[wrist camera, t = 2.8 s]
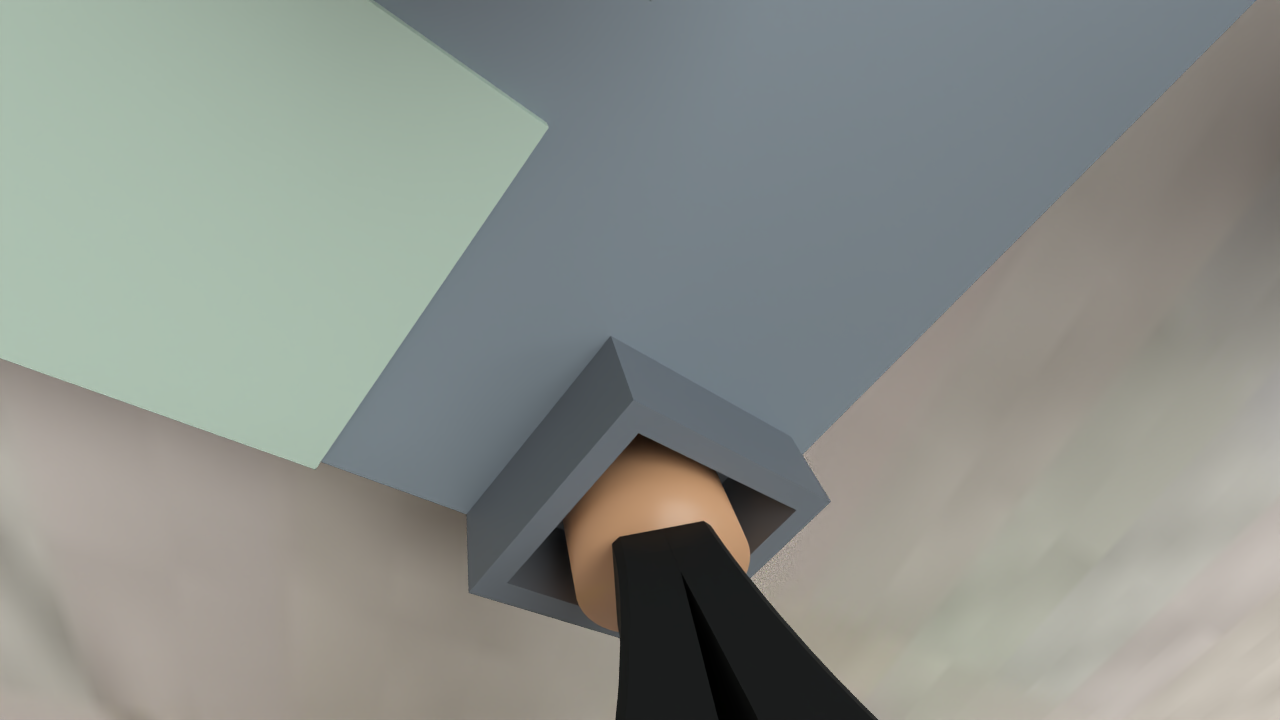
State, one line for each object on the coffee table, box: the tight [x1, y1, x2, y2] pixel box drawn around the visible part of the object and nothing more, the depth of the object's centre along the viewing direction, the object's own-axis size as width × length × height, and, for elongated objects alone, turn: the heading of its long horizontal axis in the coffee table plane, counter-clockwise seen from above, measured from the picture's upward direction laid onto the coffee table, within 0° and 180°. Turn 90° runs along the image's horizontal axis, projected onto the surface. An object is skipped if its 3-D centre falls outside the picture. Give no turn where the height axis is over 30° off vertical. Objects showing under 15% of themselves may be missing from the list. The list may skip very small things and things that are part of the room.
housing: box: [0, 0, 1256, 638], centre depth 9 cm, size 13×14×4 cm
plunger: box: [563, 433, 750, 632], centre depth 11 cm, size 3×3×2 cm
